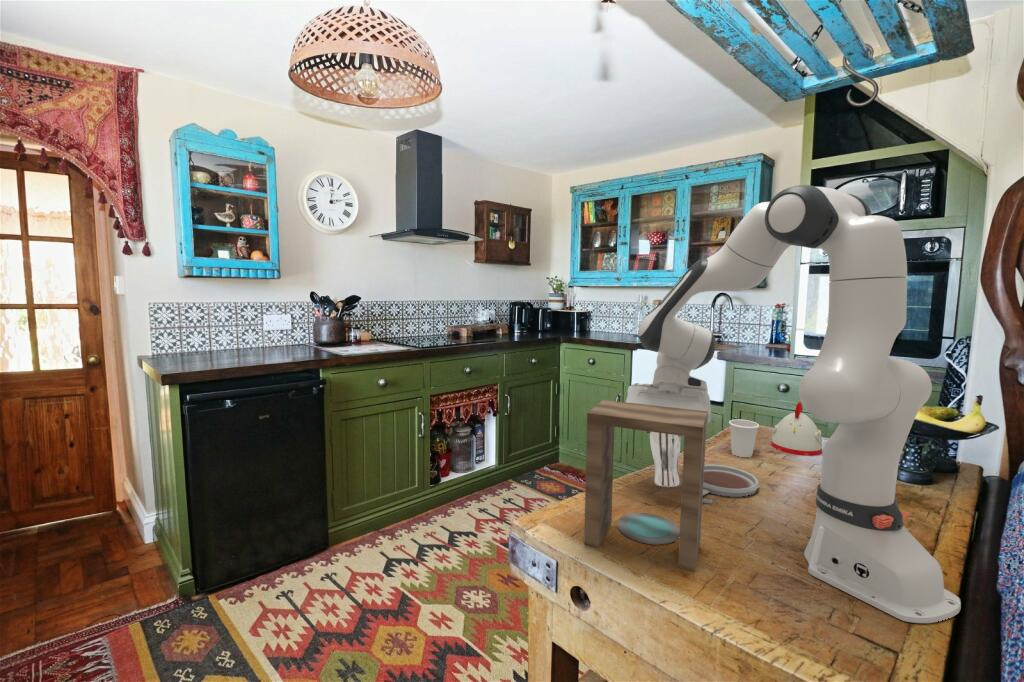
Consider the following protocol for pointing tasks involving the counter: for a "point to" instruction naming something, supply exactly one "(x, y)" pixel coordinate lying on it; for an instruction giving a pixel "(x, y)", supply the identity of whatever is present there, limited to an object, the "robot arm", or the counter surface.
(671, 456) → the beer glass
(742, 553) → the counter surface
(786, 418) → the kitchen timer
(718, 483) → the frying pan
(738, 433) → the dixie cup
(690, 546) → the shelf bridge
